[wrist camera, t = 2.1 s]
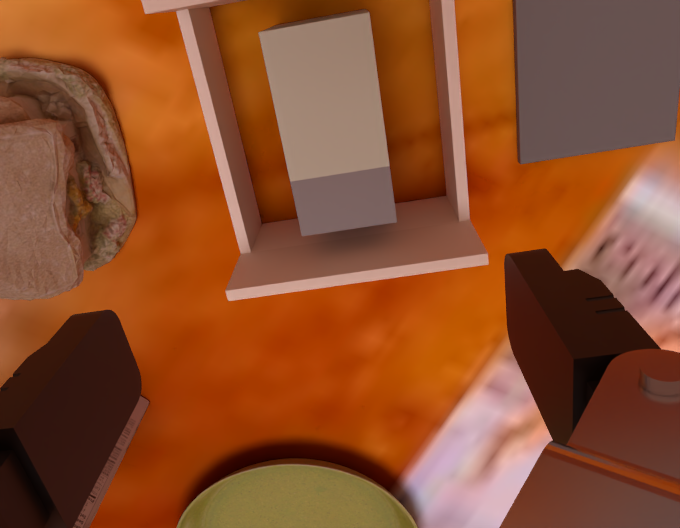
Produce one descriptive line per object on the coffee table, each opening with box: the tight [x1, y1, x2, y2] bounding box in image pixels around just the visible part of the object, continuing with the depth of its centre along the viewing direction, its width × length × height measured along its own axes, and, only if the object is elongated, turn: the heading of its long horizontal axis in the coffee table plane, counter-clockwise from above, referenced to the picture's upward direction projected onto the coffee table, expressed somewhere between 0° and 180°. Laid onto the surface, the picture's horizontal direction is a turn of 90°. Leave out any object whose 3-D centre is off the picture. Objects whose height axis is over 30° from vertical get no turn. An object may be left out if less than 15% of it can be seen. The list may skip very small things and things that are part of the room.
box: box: [259, 9, 397, 236], centre depth 30 cm, size 5×10×7 cm, turn 9°
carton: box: [141, 0, 488, 301], centre depth 29 cm, size 13×14×9 cm
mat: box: [513, 0, 680, 164], centre depth 31 cm, size 9×12×1 cm
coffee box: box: [73, 396, 149, 528], centre depth 36 cm, size 9×6×16 cm
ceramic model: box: [0, 57, 137, 300], centre depth 31 cm, size 14×11×10 cm
